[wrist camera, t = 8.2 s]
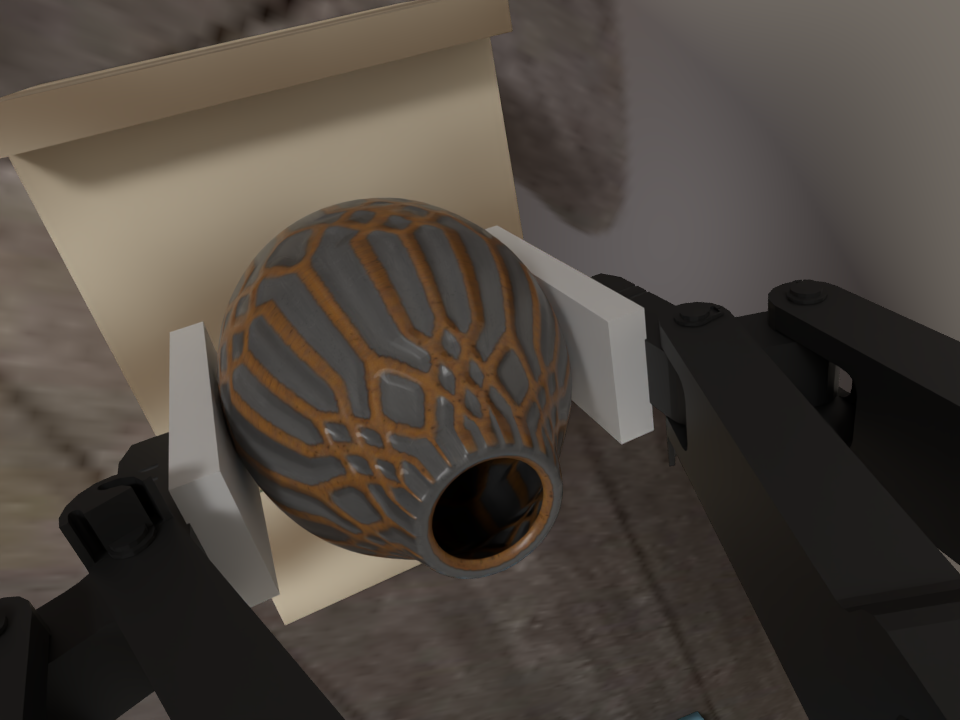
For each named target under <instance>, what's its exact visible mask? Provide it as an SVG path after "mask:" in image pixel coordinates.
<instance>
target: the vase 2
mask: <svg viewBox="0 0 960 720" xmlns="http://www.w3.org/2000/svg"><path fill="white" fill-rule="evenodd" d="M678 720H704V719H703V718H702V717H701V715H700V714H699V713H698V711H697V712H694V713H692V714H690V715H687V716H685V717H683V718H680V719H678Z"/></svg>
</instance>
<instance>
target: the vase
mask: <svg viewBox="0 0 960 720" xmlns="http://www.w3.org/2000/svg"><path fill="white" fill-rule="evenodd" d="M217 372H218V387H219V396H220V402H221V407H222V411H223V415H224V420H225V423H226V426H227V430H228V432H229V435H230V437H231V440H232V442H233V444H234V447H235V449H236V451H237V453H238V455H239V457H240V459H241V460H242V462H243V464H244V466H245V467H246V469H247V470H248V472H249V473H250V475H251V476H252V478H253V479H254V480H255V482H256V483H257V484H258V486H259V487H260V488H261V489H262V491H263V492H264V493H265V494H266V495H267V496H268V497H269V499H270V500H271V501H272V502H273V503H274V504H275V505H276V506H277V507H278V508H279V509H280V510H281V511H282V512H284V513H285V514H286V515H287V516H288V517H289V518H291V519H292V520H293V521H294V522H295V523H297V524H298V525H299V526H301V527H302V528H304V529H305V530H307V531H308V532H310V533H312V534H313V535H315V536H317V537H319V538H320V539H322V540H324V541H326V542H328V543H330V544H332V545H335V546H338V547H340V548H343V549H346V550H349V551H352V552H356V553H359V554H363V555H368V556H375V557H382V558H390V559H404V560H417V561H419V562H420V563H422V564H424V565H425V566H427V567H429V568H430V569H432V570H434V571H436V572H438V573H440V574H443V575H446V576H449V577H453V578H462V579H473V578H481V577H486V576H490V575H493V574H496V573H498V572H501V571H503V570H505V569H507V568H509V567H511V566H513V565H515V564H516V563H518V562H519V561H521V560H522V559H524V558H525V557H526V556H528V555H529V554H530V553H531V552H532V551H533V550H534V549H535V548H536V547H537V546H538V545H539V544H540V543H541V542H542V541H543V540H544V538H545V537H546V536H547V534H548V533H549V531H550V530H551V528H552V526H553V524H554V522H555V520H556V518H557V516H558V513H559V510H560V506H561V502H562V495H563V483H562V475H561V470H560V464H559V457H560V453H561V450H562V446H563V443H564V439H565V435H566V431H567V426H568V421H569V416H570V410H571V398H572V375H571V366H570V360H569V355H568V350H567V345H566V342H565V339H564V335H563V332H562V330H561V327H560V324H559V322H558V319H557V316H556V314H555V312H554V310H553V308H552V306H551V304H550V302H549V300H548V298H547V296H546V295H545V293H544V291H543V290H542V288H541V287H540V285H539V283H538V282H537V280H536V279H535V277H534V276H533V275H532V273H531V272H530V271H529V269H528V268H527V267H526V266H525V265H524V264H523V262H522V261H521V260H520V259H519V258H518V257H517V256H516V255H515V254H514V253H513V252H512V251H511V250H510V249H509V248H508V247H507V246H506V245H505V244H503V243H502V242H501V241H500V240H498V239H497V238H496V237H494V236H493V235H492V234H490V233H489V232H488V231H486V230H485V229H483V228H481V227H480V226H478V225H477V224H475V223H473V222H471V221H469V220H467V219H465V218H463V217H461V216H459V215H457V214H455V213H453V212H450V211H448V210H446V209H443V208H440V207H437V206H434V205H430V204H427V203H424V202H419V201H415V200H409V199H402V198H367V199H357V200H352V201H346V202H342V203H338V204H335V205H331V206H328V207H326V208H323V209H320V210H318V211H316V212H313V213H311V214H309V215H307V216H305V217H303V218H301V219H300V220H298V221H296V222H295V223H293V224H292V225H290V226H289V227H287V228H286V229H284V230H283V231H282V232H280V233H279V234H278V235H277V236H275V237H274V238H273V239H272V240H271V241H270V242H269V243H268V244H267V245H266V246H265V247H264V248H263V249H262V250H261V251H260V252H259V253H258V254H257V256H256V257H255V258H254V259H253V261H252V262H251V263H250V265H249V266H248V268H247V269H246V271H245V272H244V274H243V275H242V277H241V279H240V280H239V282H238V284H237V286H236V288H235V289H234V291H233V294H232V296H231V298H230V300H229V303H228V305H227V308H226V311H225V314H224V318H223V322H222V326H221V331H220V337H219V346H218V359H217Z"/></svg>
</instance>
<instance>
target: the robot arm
mask: <svg viewBox="0 0 960 720" xmlns="http://www.w3.org/2000/svg"><path fill="white" fill-rule="evenodd" d="M485 230H486V231H488V232H489V233H490V234H492V235H493V236H494V237H496V238H497V239H498V240H500V241H501V242H502V243H503V244H505V245H506V246H507V247H508V248H509V249H510V250H511V251H512V252H513V253H514V254H515V255H516V256H517V257H518V258H519V259H520V260H521V261H522V262H523V264H524V265H525V266H526V267H527V268H528V269H529V271H530V272H531V273H532V275H533V276H534V277H535V279H536V280H537V282H538V283H539V285H540V287H541V288H542V290H543V291H544V293H545V295H546V296H547V298H548V300H549V302H550V304H551V306H552V308H553V310H554V312H555V314H556V316H557V319H558V322H559V324H560V327H561V330H562V332H563V335H564V339H565V342H566V345H567V350H568V355H569V360H570V366H571V375H572V398H571V400H572V401H573V402H575V403H576V404H577V405H578V406H579V407H580V408H581V409H582V410H584V411H585V412H586V413H587V414H588V415H589V416H590V417H591V418H592V419H594V420H595V421H596V422H597V423H598V424H599V425H600V426H601V427H603V428H604V429H605V430H606V431H607V432H608V433H609V434H610V435H611V436H613V437H614V438H615V439H616V440H617V441H618V442H619V443H620V444H623V443H626V442H628V441H630V440H633V439H635V438H637V437H639V436H642V435H644V434H646V433H648V432H651V431H653V430H654V425H653V413H652V405H653V406H655V407H656V408H657V409H659V410H660V411H661V412H663V413H664V414H665V415H666V430H667V444H668V459H669V466H674V465H675V456H676V455H677V456H678V458H679V460H680V462H681V464H682V466H683V468H684V470H685V472H686V474H687V476H688V478H689V480H690V482H691V484H692V486H693V488H694V490H695V492H696V494H697V496H698V498H699V500H700V502H701V504H702V506H703V508H704V510H705V512H706V514H707V516H708V518H709V520H710V522H711V524H712V526H713V528H714V530H715V532H716V534H717V536H718V538H719V540H720V542H721V544H722V546H723V548H724V550H725V552H726V554H727V556H728V558H729V560H730V562H731V564H732V566H733V568H734V570H735V572H736V574H737V576H738V578H739V580H740V582H741V584H742V586H743V588H744V590H745V592H746V594H747V596H748V598H749V600H750V602H751V604H752V606H753V608H754V610H755V612H756V614H757V616H758V618H759V620H760V622H761V624H762V626H763V628H764V630H765V632H766V634H767V636H768V638H769V640H770V642H771V644H772V646H773V648H774V650H775V652H776V654H777V656H778V658H779V660H780V662H781V664H782V666H783V668H784V670H785V672H786V674H787V676H788V678H789V680H790V682H791V684H792V686H793V688H794V690H795V692H796V694H797V696H798V698H799V700H800V702H801V704H802V706H803V708H804V710H805V712H806V714H807V716H808V718H809V720H960V574H959V572H958V571H957V570H956V569H955V568H954V567H953V566H952V565H951V563H950V562H949V561H948V560H947V559H946V558H945V557H944V556H943V554H942V553H941V552H940V551H939V550H941V551H942V552H943V553H945V554H946V555H947V556H948V557H950V558H951V559H952V560H954V561H955V562H956V563H958V564H959V565H960V342H959V341H957V340H955V339H953V338H950V337H948V336H946V335H944V334H941V333H939V332H937V331H935V330H933V329H930V328H928V327H926V326H924V325H922V324H919V323H917V322H915V321H913V320H911V319H908V318H906V317H904V316H902V315H899V314H897V313H895V312H893V311H891V310H888V309H886V308H884V307H882V306H880V305H877V304H875V303H873V302H871V301H869V300H867V299H864V298H862V297H860V296H858V295H856V294H853V293H851V292H849V291H847V290H844V289H842V288H840V287H838V286H835V285H832V284H829V283H826V282H819V281H813V280H803V281H802V280H795V281H793V282H790V283H785V284H782V285H780V286H777V287H775V288H773V289H772V290H771V292H770V293H769V294H768V311H767V312H761V313H756V314H751V315H745V316H741V317H734V316H733V315H732V314H731V312H730V311H728V310H727V309H725V308H724V307H722V306H720V305H716V304H713V303H704V302H703V303H702V302H693V303H685V304H680V305H677V306H675V305H673V304H671V303H669V302H667V301H665V300H663V299H662V298H660V297H658V296H656V295H654V294H652V293H650V292H646V290H644V289H643V288H641V287H639V286H636V287H635V284H633V283H631V282H629V281H627V280H625V279H623V278H621V277H617V276H612V275H606V274H598V275H595V276H592V277H588V276H586V275H585V274H583V273H581V272H579V271H577V270H576V269H574V268H572V267H570V266H568V265H567V264H565V263H563V262H561V261H560V260H558V259H556V258H554V257H552V256H551V255H549V254H547V253H545V252H544V251H542V250H540V249H538V248H536V247H535V246H533V245H531V244H529V243H527V242H526V241H524V240H522V239H520V238H519V237H517V236H515V235H513V234H512V233H510V232H508V231H506V230H504V229H503V228H501V227H499V226H494V227H491V228H488V229H485ZM217 359H218V354H217V352H216V350H215V347H214V345H213V343H212V341H211V338H210V336H209V334H208V332H207V329H206V327H205V325H204V323H203V322H200V323H197V324H194V325H190V326H187V327H184V328H181V329H178V330H175V331H172V332H170V366H169V432H167V433H164V434H161V435H159V436H156V437H153V438H150V439H148V440H145V441H142V442H139V443H137V444H134V445H132V446H131V447H130V448H129V450H128V451H127V453H126V454H125V455H124V457H123V458H122V460H121V461H120V462H119V466H118V474H117V475H114V476H111V477H109V478H107V479H104V480H102V481H100V482H98V483H95V484H94V485H92V486H91V487H89V488H87V489H86V490H84V491H83V492H81V493H80V494H78V495H77V496H76V497H75V498H74V499H73V500H72V501H71V502H70V503H69V504H68V505H67V506H66V507H65V508H64V510H63V512H62V514H61V515H60V517H59V528H60V530H61V531H62V533H63V534H64V536H65V537H66V539H67V540H68V542H69V543H70V544H71V546H72V547H73V549H74V550H75V552H76V553H77V555H78V556H79V558H80V559H81V561H82V562H83V564H84V565H85V567H86V568H87V570H88V572H89V574H88V575H87V576H86V577H85V578H83V579H82V580H81V581H80V582H79V583H77V584H76V585H74V586H73V587H72V588H70V589H69V590H67V591H66V592H64V593H63V594H61V595H59V596H58V597H56V598H54V599H53V600H51V601H49V602H48V603H46V604H45V605H43V606H41V607H40V608H38V609H36V610H35V608H34V607H33V606H32V604H31V603H30V602H29V601H28V600H26V599H24V598H21V597H19V596H18V597H5V598H1V599H0V720H116V719H117V718H118V717H120V716H121V715H122V714H124V713H125V712H126V711H128V710H129V709H130V708H132V707H133V706H135V705H136V704H137V703H139V702H140V701H141V700H143V699H144V698H145V697H147V696H148V695H150V694H151V693H152V692H154V691H155V692H156V694H157V696H158V698H159V699H160V701H161V703H162V705H163V707H164V708H165V710H166V712H167V714H168V716H169V717H170V719H171V720H345V719H344V718H343V717H342V716H341V714H340V713H339V712H338V711H337V710H336V709H335V707H334V706H333V705H332V704H331V703H330V701H329V700H328V699H327V698H326V697H325V696H324V694H323V693H322V692H321V691H320V690H319V688H318V687H317V686H316V685H315V684H314V683H313V681H312V680H311V679H310V678H309V677H308V675H307V674H306V673H305V672H304V671H303V669H302V668H301V667H300V666H299V665H298V664H297V662H296V661H295V660H294V659H293V658H292V656H291V655H290V654H289V653H288V652H287V651H286V649H285V648H284V647H283V646H282V645H281V643H280V642H279V641H278V640H277V639H276V638H275V636H274V635H273V634H272V633H271V632H270V630H269V629H268V628H267V627H266V626H265V625H264V623H263V622H262V621H261V620H260V619H259V617H258V616H257V615H256V614H255V613H254V612H253V610H252V609H251V608H250V607H253V606H255V605H257V604H259V603H262V602H264V601H266V600H269V599H271V598H273V597H275V596H278V595H280V593H279V588H278V583H277V578H276V572H275V567H274V562H273V557H272V552H271V547H270V542H269V537H268V532H267V526H266V521H265V516H264V511H263V506H262V501H261V496H260V491H259V486H258V484H257V483H256V482H255V480H254V479H253V478H252V476H251V475H250V473H249V472H248V470H247V469H246V467H245V466H244V464H243V462H242V460H241V459H240V457H239V455H238V453H237V451H236V449H235V447H234V444H233V442H232V440H231V437H230V435H229V432H228V430H227V426H226V423H225V420H224V415H223V411H222V407H221V402H220V396H219V387H218V372H217ZM840 368H842V369H843V370H844V371H846V372H847V373H848V374H849V375H850V377H851V378H852V389H851V393H849V392H846V391H845V390H843V389H842V388H840V387H838V386H839V374H840ZM937 548H938V549H939V550H938V549H937Z"/></svg>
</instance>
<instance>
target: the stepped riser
mask: <svg viewBox="0 0 960 720" xmlns="http://www.w3.org/2000/svg"><path fill="white" fill-rule="evenodd" d="M512 31H513V30H512V24H511V17H510V11H509V4H508V0H417V1H411V2H404V3H398V4H393V5H389V6H384V7H380V8H375V9H371V10H367V11H362V12H358V13H353V14H349V15H344V16H340V17H336V18H331V19H327V20H322V21H318V22H313V23H309V24H305V25H300V26H296V27H291V28H287V29H282V30H278V31H274V32H269V33H265V34H260V35H256V36H251V37H247V38H243V39H238V40H234V41H229V42H225V43H220V44H216V45H212V46H207V47H203V48H198V49H194V50H189V51H185V52H181V53H176V54H172V55H167V56H163V57H158V58H154V59H149V60H145V61H141V62H136V63H132V64H127V65H123V66H118V67H114V68H110V69H105V70H101V71H96V72H92V73H87V74H83V75H79V76H74V77H70V78H65V79H61V80H56V81H52V82H48V83H43V84H39V85H36V86H33V87H30V88H27V89H24V90H22V91H19V92H16V93H13V94H10V95H7V96H4V97H1V98H0V158H4V157H9V159H10V161H11V163H12V164H13V166H14V168H15V170H16V172H17V174H18V176H19V178H20V180H21V181H22V183H23V185H24V187H25V189H26V191H27V193H28V195H29V197H30V198H31V200H32V202H33V204H34V206H35V208H36V210H37V212H38V214H39V215H40V217H41V219H42V221H43V223H44V225H45V227H46V229H47V231H48V232H49V234H50V236H51V238H52V240H53V242H54V244H55V246H56V248H57V249H58V251H59V253H60V255H61V257H62V259H63V261H64V263H65V265H66V266H67V268H68V270H69V272H70V274H71V276H72V278H73V280H74V282H75V283H76V285H77V287H78V289H79V291H80V293H81V295H82V297H83V299H84V300H85V302H86V304H87V306H88V308H89V310H90V312H91V314H92V316H93V317H94V319H95V321H96V323H97V325H98V327H99V329H100V331H101V333H102V334H103V336H104V338H105V340H106V342H107V344H108V346H109V348H110V350H111V351H112V353H113V355H114V357H115V359H116V361H117V363H118V365H119V367H120V369H121V370H122V372H123V374H124V376H125V378H126V380H127V382H128V384H129V386H130V387H131V389H132V391H133V393H134V395H135V397H136V399H137V401H138V403H139V404H140V406H141V408H142V410H143V412H144V414H145V416H146V418H147V420H148V421H149V423H150V425H151V427H152V429H153V431H154V433H155V435H156V436H159V435H161V434H164V433H167V432H169V366H170V332H172V331H175V330H178V329H181V328H184V327H187V326H190V325H194V324H197V323H200V322H203V323H204V325H205V327H206V329H207V332H208V334H209V336H210V338H211V341H212V343H213V345H214V347H215V350H216V352H217V354H218V346H219V337H220V331H221V326H222V322H223V318H224V314H225V311H226V308H227V305H228V303H229V300H230V298H231V296H232V294H233V291H234V289H235V288H236V286H237V284H238V282H239V280H240V279H241V277H242V275H243V274H244V272H245V271H246V269H247V268H248V266H249V265H250V263H251V262H252V261H253V259H254V258H255V257H256V256H257V254H258V253H259V252H260V251H261V250H262V249H263V248H264V247H265V246H266V245H267V244H268V243H269V242H270V241H271V240H272V239H273V238H274V237H275V236H277V235H278V234H279V233H280V232H282V231H283V230H284V229H286V228H287V227H289V226H290V225H292V224H293V223H295V222H296V221H298V220H300V219H301V218H303V217H305V216H307V215H309V214H311V213H313V212H316V211H318V210H320V209H323V208H326V207H328V206H331V205H335V204H338V203H342V202H346V201H352V200H357V199H367V198H402V199H409V200H415V201H419V202H424V203H427V204H430V205H434V206H437V207H440V208H443V209H446V210H448V211H450V212H453V213H455V214H457V215H459V216H461V217H463V218H465V219H467V220H469V221H471V222H473V223H475V224H477V225H478V226H480V227H481V228H483V229H488V228H491V227H494V226H499V227H501V228H503V229H504V230H506V231H508V232H510V233H512V234H513V235H515V236H517V237H519V238H520V239H522V240H523V234H522V228H521V222H520V216H519V210H518V204H517V198H516V192H515V186H514V180H513V174H512V168H511V161H510V155H509V149H508V143H507V137H506V131H505V125H504V119H503V113H502V107H501V101H500V95H499V89H498V83H497V77H496V71H495V65H494V59H493V53H492V47H491V41H490V37H491V36H495V35H499V34H503V33H508V32H512ZM259 491H260V496H261V501H262V506H263V511H264V516H265V521H266V526H267V532H268V537H269V542H270V547H271V552H272V557H273V562H274V567H275V572H276V578H277V583H278V588H279V593H280V595H278V596H275V597H273V598H272V600H273V602H274V604H275V606H276V608H277V610H278V612H279V614H280V616H281V618H282V620H283V622H284V624H285V625H287V624H289V623H291V622H293V621H296V620H298V619H300V618H302V617H304V616H307V615H309V614H311V613H313V612H315V611H318V610H320V609H322V608H324V607H327V606H329V605H331V604H333V603H335V602H338V601H340V600H342V599H344V598H346V597H349V596H351V595H353V594H355V593H357V592H360V591H362V590H364V589H366V588H368V587H371V586H373V585H375V584H377V583H379V582H382V581H384V580H386V579H388V578H390V577H393V576H395V575H397V574H399V573H402V572H404V571H406V570H408V569H410V568H413V567H415V566H417V565H419V564H421V563H420V562H419V561H417V560H404V559H390V558H382V557H375V556H368V555H363V554H359V553H356V552H352V551H349V550H346V549H343V548H340V547H338V546H335V545H332V544H330V543H328V542H326V541H324V540H322V539H320V538H319V537H317V536H315V535H313V534H312V533H310V532H308V531H307V530H305V529H304V528H302V527H301V526H299V525H298V524H297V523H295V522H294V521H293V520H292V519H291V518H289V517H288V516H287V515H286V514H285V513H284V512H282V511H281V510H280V509H279V508H278V507H277V506H276V505H275V504H274V503H273V502H272V501H271V500H270V499H269V497H268V496H267V495H266V494H265V493H264V492H263V491H262V489H261V488H260V487H259Z"/></svg>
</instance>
